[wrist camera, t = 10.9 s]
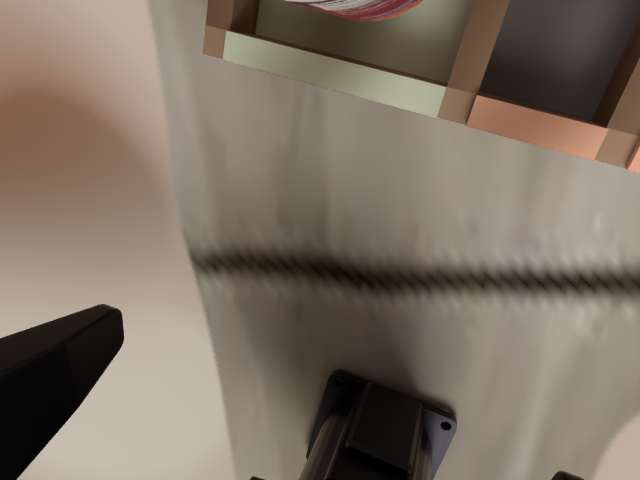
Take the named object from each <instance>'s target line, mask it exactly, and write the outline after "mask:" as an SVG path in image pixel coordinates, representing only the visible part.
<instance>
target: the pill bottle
mask: <svg viewBox="0 0 640 480" xmlns="http://www.w3.org/2000/svg"><path fill="white" fill-rule="evenodd" d="M283 1H286V2H290V3H294V4H297V5H301V6H304V7H307V8H311V9H315V10H319V11H322V12H326V13H328V14H333V15H337V16H340V17H343V18H347V19H351V20H355V21H366V22H367V21H380V20H386V19H390V18H393V17H396V16H399V15H401V14H404V13H406V12H408V11H410V10H412V9H413V8H415V7H416V6H418V5H419V4H421V3H422V2H423V1H425V0H283Z"/></svg>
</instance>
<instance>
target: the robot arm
mask: <svg viewBox="0 0 640 480" xmlns="http://www.w3.org/2000/svg"><path fill="white" fill-rule="evenodd" d="M123 341H124V330H123V320H122V313H121V311H120V310H119V309H117V308H114V307H111V306H109V305H106V304H101V305H97V306H94V307H91V308H88V309H85V310H82V311H79V312H76V313H73V314H70V315H67V316H65V317H62V318H59V319H56V320H53V321H50V322H47V323H44V324H41V325H38V326H35V327H32V328H29V329H26V330H24V331H20V332H17V333H15V334H12V335H9V336H6V337H3V338H0V480H17V478H18V477H19V476H20V475H21V474H22V473H23V471H24V470H25V469H26V468H27V467H28V466H29V464H30V463H31V462H32V461H33V460H34V459H35V457H36V456H37V455H38V454H39V453H40V451H41V450H42V449H43V448H44V447H45V446H46V445H47V444H48V442H49V441H50V440H51V439H52V438H53V436H55V434H56V433H57V432H58V431H59V429H60V428H61V427H62V426H63V425H64V424H65V422H67V420H68V419H69V418H70V417H71V415H72V414H73V413H74V412H75V411H76V410H77V408H78V407H79V406H80V405H81V403H82V402H83V400H84V399H85V398H86V396H87V395H88V393H89V392H90V391H91V389H92V388H93V387H94V385H95V384H96V382H97V381H98V380H99V378H100V376H101V375H102V374H103V373H104V371H105V369H106V368H107V366H108V365H109V364H110V363H111V361H112V360H113V358H114V357H115V355H116V354H117V353H118V351H119V350H120V348H121V346H122V344H123ZM335 378H338V379H340V380H341V381H342V382H339V381H337V380H336V379H335ZM442 422H448V423H450V424H449V425H446V424H443V423H442ZM456 428H457V420H456V417H455V416H454V415H453V414H451V413H449V412H446V411H444V410H441V409H439V408H436V407H434V406H431V405H429V404H426V403H424V402H421V401H419V400H416V399H414V398H411V397H409V396H406V395H404V394H401V393H399V392H396V391H393V390H391V389H388V388H386V387H383V386H381V385H378V384H376V383H373V382H371V381H368V380H366V379H363V378H361V377H358V376H356V375H353V374H351V373H348V372H346V371H343V370H339V369H337V370H334V371H332V373H331V375H330V377H329V379H328V382H327V386H326V389H325V392H324V396H323V399H322V403H321V406H320V410H319V413H318V416H317V420H316V423H315V427H314V430H313V434H312V437H311V440H310V444H309V447H308V451H307V454H306V458H307V462H306V464H305V467H304V469H303V471H302V474H301V476H300V478H299V480H433V478H434V476H435V474H436V472H437V470H438V468H439V466H440V464H441V461H442V459H443V457H444V455H445V453H446V451H447V449H448V447H449V444H450V442H451V440H452V438H453V436H454V434H455V432H456ZM250 480H264V479H261V478H257V477H254V476H253V477H252V478H251V479H250ZM552 480H584V479H582V478H581V477H578V476H575V475H573V474H570V473H567V472H564V471H559V472H557V473H556V474H555V475H554V477H553V478H552Z"/></svg>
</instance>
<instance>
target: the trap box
mask: <svg viewBox="0 0 640 480" xmlns="http://www.w3.org/2000/svg"><path fill="white" fill-rule="evenodd" d="M203 54H206V55H210V56H214V57H217V58H221V59H223V60H225V61H228V62H232V63H236V64H239V65H243V66H247V67H250V68H254V69H258V70H261V71H265V72H269V73H272V74H276V75H280V76H283V77H287V78H291V79H294V80H298V81H302V82H306V83H309V84H313V85H317V86H320V87H324V88H328V89H331V90H335V91H339V92H342V93H346V94H350V95H353V96H357V97H361V98H364V99H368V100H372V101H375V102H379V103H383V104H387V105H390V106H394V107H398V108H401V109H405V110H409V111H412V112H416V113H420V114H423V115H427V116H431V117H434V118H437V117H439V118H442V119H446V120H450V121H453V122H457V123H461V124H465V125H466V126H468V127H471V128H475V129H479V130H482V131H486V132H490V133H493V134H497V135H501V136H504V137H508V138H512V139H515V140H519V141H523V142H526V143H530V144H534V145H537V146H541V147H545V148H549V149H552V150H556V151H560V152H563V153H567V154H571V155H574V156H578V157H582V158H585V159H589V160H593V161H594V160H597V161H601V162H605V163H608V164H612V165H616V166H619V167H623V168H626V169H627V170H630V171H633V172H637V173H640V0H425V1H423V2H422V3H421V4H419V5H418V6H416V7H415V8H413V9H412V10H410V11H408V12H406V13H404V14H401V15H399V16H396V17H393V18H390V19H386V20H380V21H367V22H366V21H355V20H351V19H347V18H343V17H340V16H337V15H333V14H328V13H326V12H322V11H319V10H315V9H311V8H307V7H304V6H301V5H297V4H294V3H290V2H286V1H283V0H208V10H207V19H206V29H205V39H204V48H203Z"/></svg>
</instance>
